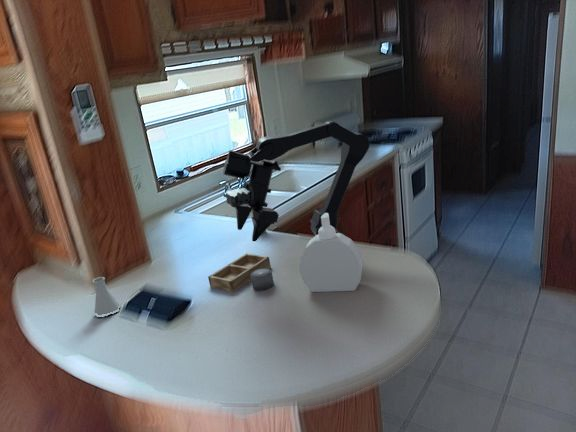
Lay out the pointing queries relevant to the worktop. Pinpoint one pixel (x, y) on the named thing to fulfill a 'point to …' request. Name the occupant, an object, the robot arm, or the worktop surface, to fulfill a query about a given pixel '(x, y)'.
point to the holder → (238, 272)
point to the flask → (104, 298)
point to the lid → (262, 279)
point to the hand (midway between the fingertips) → (246, 235)
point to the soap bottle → (331, 261)
